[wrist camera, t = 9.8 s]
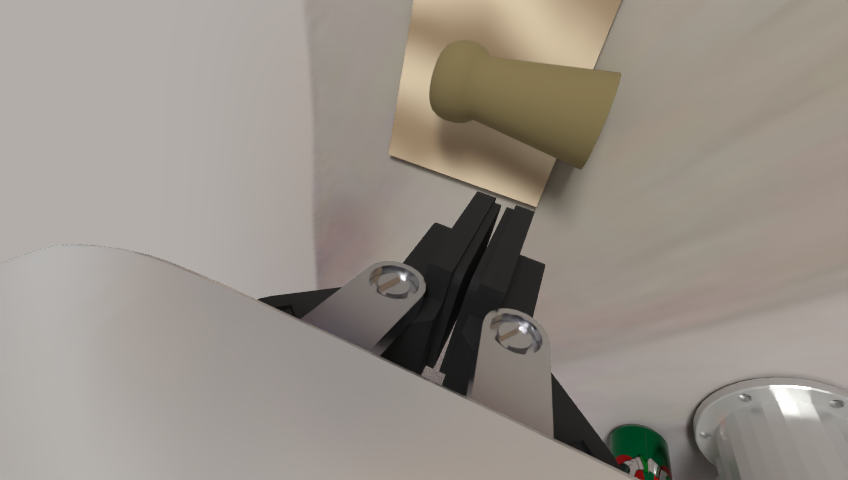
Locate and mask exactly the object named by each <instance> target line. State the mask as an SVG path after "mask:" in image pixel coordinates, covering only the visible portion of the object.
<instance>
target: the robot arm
mask: <svg viewBox="0 0 848 480" xmlns="http://www.w3.org/2000/svg"><path fill="white" fill-rule="evenodd" d="M495 200H496V198H495V197H492V196H489V195H486V194H484V193H481V192H477V193H476V194H475V196H474V197H473V199H472V200H471V202H470V203H469V204H468V206H467V207H466V209H465V210H464V212H463V213H462V215H461V216H460V217H459V219H458V220H457V222H456V223H455V225H454V226H453V228H449V227H446V226H444V225H441V224H439V223H434V224H433V225H432V227H431V228H430V229H429V230H428V232H427V233H426V234H425V236H424V237H423V238H422V239H421V241H420V242H419V243H418V244H417V246H416V247H415V248H414V250H413V251H412V252H411V253H410V255H409V256H408V257H407V258H406V260H405V261H404V262H403V263H400V262H394V261H383V262H379V263H375V264H373V265H371V266H369V267H368V268H367V269H365V270H364V271H363V272H361V273H360V274H359V275H357V276H356V277H355V278H354V279H352V280H351V281H350V282H348V283H347V284H346V285H344V286H343V287H340V288H332V289H324V290H316V291H308V292H300V293H292V294H284V295H276V296H269V297H265V298H260V299H258V300H257V299H255V298H252V297H250V296H248V295H245V294H244V293H241V292H239V291H237V290H235V289H233V288H230V287H228V286H226V285H224V284H222V283H220V282H217V281H215V280H212V279H210V278H208V277H205V276H203V275H200V274H198V273H195V272H193V271H191V270H188V269H186V268H184V267H181V266H179V265H176V264H174V263H171V262H168V261H166V260H163V259H160V258H156V257H153V256H150V255H147V254H143V253H138V252H134V251H129V250H125V249H120V248H112V247H103V246H96V245H60V246H53V247H48V248H44V249H40V250H36V251H33V252H30V253H27V254H24V255H21V256H18V257H15V258H12V259H9V260H6V261H3V262H1V263H0V480H640V479H638V478H637V477H634V476H632V475H629V474H627V473H625V472H623V471H621V467H620V466H619V464H618V463H617V461H616V459H615V458H614V456H613V454H612V453H611V452H610V450H609V449H608V448H607V446H606V445H605V444H604V442H603V441H602V440H601V438H600V437H599V436H598V434H597V433H596V432H595V430H594V429H593V428H592V426H591V425H590V424H589V422H588V421H587V420H586V418H585V417H584V416H583V414H582V413H581V412H580V410H579V409H578V408H577V406H576V405H575V404H574V402H573V401H572V400H571V398H570V397H569V396H568V394H567V393H566V392H565V390H564V389H563V388H562V386H561V385H560V384H559V382H558V381H557V380H556V378H555V377H554V376H553V374H552V373H551V360H550V342H549V338H548V335H547V333H546V331H545V330H544V328H543V327H542V326H541V325H540V324H539V323H538V322H537V321H536V320H535V319H533V314H534V310H535V306H536V302H537V297H538V293H539V289H540V285H541V281H542V277H543V273H544V269H545V264H543V263H540V262H538V261H535V260H532V259H530V258H527V257H525V256H522V255H520V252H521V249H522V246H523V243H524V241H525V238H526V235H527V232H528V229H529V227H530V224H531V221H532V218H533V215H534V211H531V210H528V209H525V208H523V207H520V206H517V205H516V206H515V209H514V210H513V209H510V208H508V207H507V208H506V210H505V212H504V214H503V216H502V218H501V220H500V222H499V224H498V226H497V228H496V230H495V232H494V234H493V236H492V238H491V240H490V242H489V239H490V237H491V234H492V231H493V228H494V225H495V222H496V219H497V217H498V214H499V211H500V208H501V205H499V204H496V203H495ZM488 242H489V244H488ZM487 245H488V246H487ZM456 320H457V321H456ZM455 322H456V324H455ZM454 324H455V327H454V330H453V333H452V336H451V339H450V341H449V344H448V347H447V350H446V353H445V356H444V359H443V362H442V365H441V368H440V371H439V372H441V373H444V374H446V375H445V378H444V381H443V384H442V385H443V386H442V385H440V384H438V383H436V382H434V381H431V380H429V379H427V378H425V377H423V376H421V374H422V372H423V370H424V368H425V367H426V366H428V367H431V368H434V366H435V364H436V362H437V360H438V358H439V356H440V354H441V352H442V349H443V347H444V345H445V343H446V341H447V339H448V337H449V335H450V333H451V331H452V329H453V326H454ZM693 430H694V435H695V440H696V443H697V445H698V447H699V450H700V451H701V452H702V454H703V455H704V456H705V457H706V459H707V460H708V461H710V462H711V463H712V464H713V465H714V466H715V467H716V468H717V471H718V476H717V477H716V478H715V479H714V480H848V392H846V391H844V390H842V389H839V388H837V387H834V386H831V385H827V384H824V383H820V382H817V381H811V380H805V379H798V378H781V377H773V378H758V379H752V380H747V381H742V382H738V383H735V384H732V385H729V386H726V387H724V388H722V389H720V390H718V391H716V392H715V393H713V394H711V395H710V396H709V397H708V398H706V399H705V400H704V401H703V402H702V403H701V405H700V406H699V407H698V409H697V410H696V413H695V416H694V418H693Z"/></svg>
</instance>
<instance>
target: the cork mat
mask: <svg viewBox="0 0 848 480" xmlns="http://www.w3.org/2000/svg"><path fill="white" fill-rule="evenodd" d="M621 1H622V0H414V2H413V8H412V14H411V20H410V26H409V33H408V39H407V45H406V51H405V57H404V63H403V69H402V75H401V81H400V88H399V94H398V100H397V106H396V112H395V118H394V124H393V130H392V137H391V143H390V149H389V155H392V156H394V157H397V158H400V159H403V160H406V161H408V162H411V163H414V164H417V165H420V166H422V167H425V168H428V169H431V170H434V171H436V172H439V173H442V174H445V175H448V176H451V177H453V178H456V179H459V180H462V181H465V182H467V183H470V184H473V185H476V186H479V187H481V188H484V189H487V190H490V191H493V192H495V193H498V194H501V195H504V196H507V197H509V198H512V199H515V200H518V201H521V202H523V203H526V204H529V205H532V206H535V207H537V205H538V202H539V200H540V197H541V195H542V193H543V190H544V188H545V185H546V183H547V180H548V178H549V176H550V173H551V171H552V168H553V166H554V163H555V161H556V159H557V158H554V157H552V156H550V155H548V154H546V153H544V152H542V151H539V150H537V149H535V148H533V147H531V146H529V145H526V144H524V143H522V142H520V141H518V140H516V139H513V138H511V137H509V136H507V135H505V134H503V133H501V132H498V131H496V130H494V129H492V128H490V127H488V126H485V125H483V124H481V123H479V122H477V121H475V120H472V121H469V122H466V123H453V122H450V121H446V120H444V119H442V118H440V117H439V116H437V115H436V114H435V112H434V111H433V110H432V108H431V105H430V100H429V90H430V83H431V78H432V74H433V70H434V67H435V64H436V62H437V59H438V57H439V55H440V53H441V52H442V51H443V49H444V48H445V47H446V46H447V45H448V44H449V43H452V42H455V41H458V40H470V41H473V42H477V43H478V44H480V45H482V46H483V47H485V48H486V50H487V51H488V52H489V53H490V55H491V56H492V57H498V58H506V59H514V60H522V61H530V62H538V63H546V64H554V65H562V66H570V67H578V68H586V69H594V66H595V64H596V61H597V59H598V56H599V54H600V52H601V49H602V47H603V44H604V42H605V39H606V37H607V35H608V32H609V30H610V27H611V25H612V22H613V20H614V18H615V15H616V13H617V10H618V8H619V5H620V3H621Z"/></svg>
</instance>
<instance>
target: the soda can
mask: <svg viewBox="0 0 848 480" xmlns="http://www.w3.org/2000/svg"><path fill="white" fill-rule="evenodd" d="M610 452H611V453H612V454H613V456H614V458H615V459H616V461H617V463H618V464H619V466H620V467H621V471H623V472H625V473H627V474H629V475H632V476H634V477H637V478H638V479H640V480H672V472H671V465H670V458H669V450H668V445H667V443H666V441H665V440H664V438H663V437H662V436H660V435H659V434H658V433H657V432H655V431H654V430H652V429H650V428H648V427H646V426H642V425H637V424H628V425H623V426H621V427H619V428H617V429H616V430H614V431H613V432H612V434H611V436H610Z"/></svg>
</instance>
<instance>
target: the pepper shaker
mask: <svg viewBox="0 0 848 480" xmlns="http://www.w3.org/2000/svg"><path fill="white" fill-rule="evenodd" d="M620 78H621V73H618V72H610V71H602V70H594V69H586V68H578V67H570V66H562V65H554V64H546V63H538V62H530V61H522V60H514V59H506V58H498V57H492V56H491V55H490V53H489V52H488V51H487V50H486V48H485V47H483V46H482V45H480V44H478V43H477V42H473V41H470V40H458V41H455V42H452V43H449V44H448V45H447V46H446V47H445V48H444V49H443V51H442V52H441V53H440V55H439V57H438V59H437V62H436V64H435V67H434V70H433V74H432V78H431V83H430V90H429V100H430V105H431V108H432V110H433V111H434V112H435V114H436V115H437V116H439V117H440V118H442V119H444V120H446V121H450V122H453V123H466V122H469V121H472V120H475V121H477V122H479V123H481V124H483V125H485V126H488V127H490V128H492V129H494V130H496V131H498V132H501V133H503V134H505V135H507V136H509V137H511V138H513V139H516V140H518V141H520V142H522V143H524V144H526V145H529V146H531V147H533V148H535V149H537V150H539V151H542V152H544V153H546V154H548V155H550V156H552V157H554V158H557V159H559V160H561V161H563V162H565V163H567V164H570V165H572V166H574V167H576V168H578V169H580V170H581V169H582V168H583V167H584V165H585V163H586V161H587V160H588V158H589V156H590V154H591V152H592V150H593V148H594V146H595V144H596V141H597V139H598V137H599V135H600V132H601V130H602V128H603V125H604V123H605V121H606V118H607V116H608V113H609V111H610V108H611V105H612V103H613V100H614V97H615V95H616V92H617V88H618V85H619V82H620Z"/></svg>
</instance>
